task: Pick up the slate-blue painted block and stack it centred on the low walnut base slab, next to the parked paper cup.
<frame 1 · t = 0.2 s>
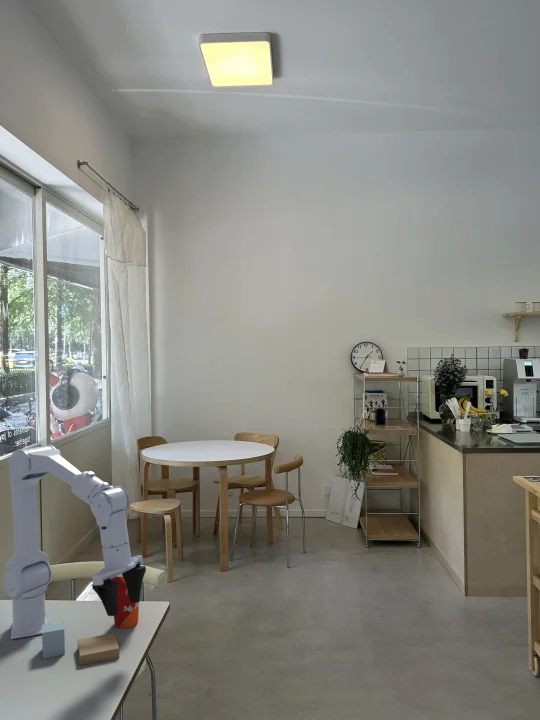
hand: (124, 608, 126), 11 cm above the table, tool pointing down, fingers open, 7 cm apart
paper cup: (126, 623, 143), on the table
base: (98, 653, 128), on the table
block: (53, 651, 130), on the table
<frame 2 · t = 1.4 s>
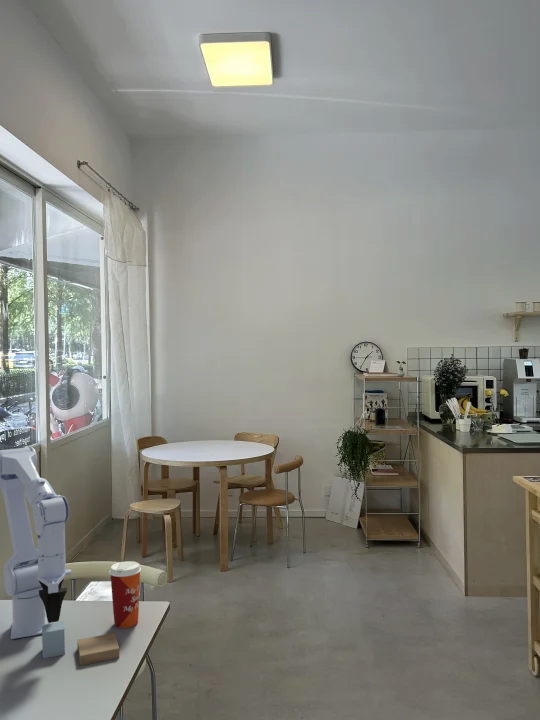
hand: (52, 614, 130), 8 cm above the table, tool pointing down, fingers open, 7 cm apart
nothing on the table moved.
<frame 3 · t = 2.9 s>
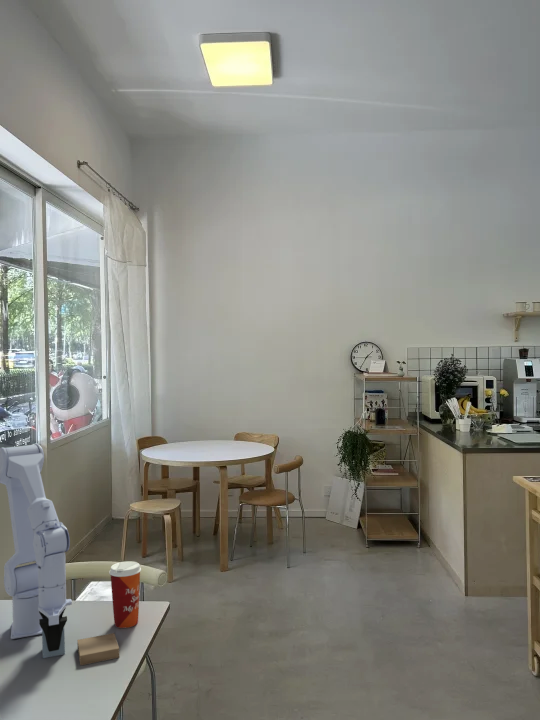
hand: (53, 645, 130), 1 cm above the table, tool pointing down, fingers closed on block, 4 cm apart
block: (53, 651, 130), on the table, touching gripper
everything else where it was.
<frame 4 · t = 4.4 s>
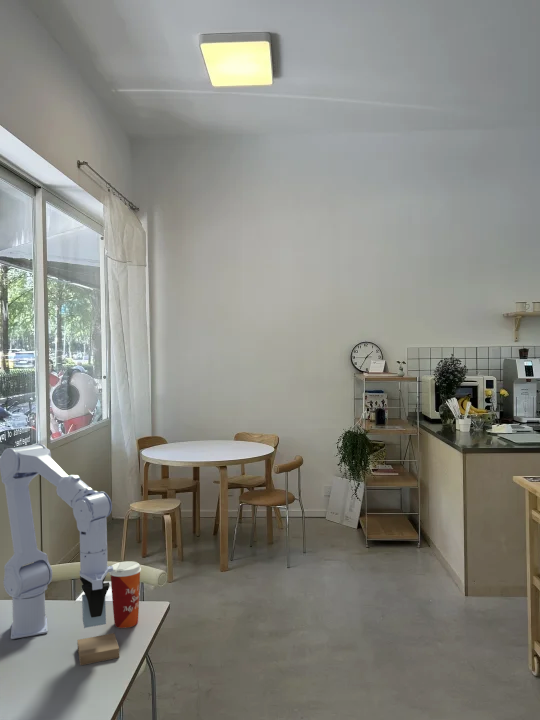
hand: (95, 611, 128), 9 cm above the table, tool pointing down, fingers closed on block, 4 cm apart
block: (94, 621, 128), point 7 cm above the table, touching gripper
everything else where it was.
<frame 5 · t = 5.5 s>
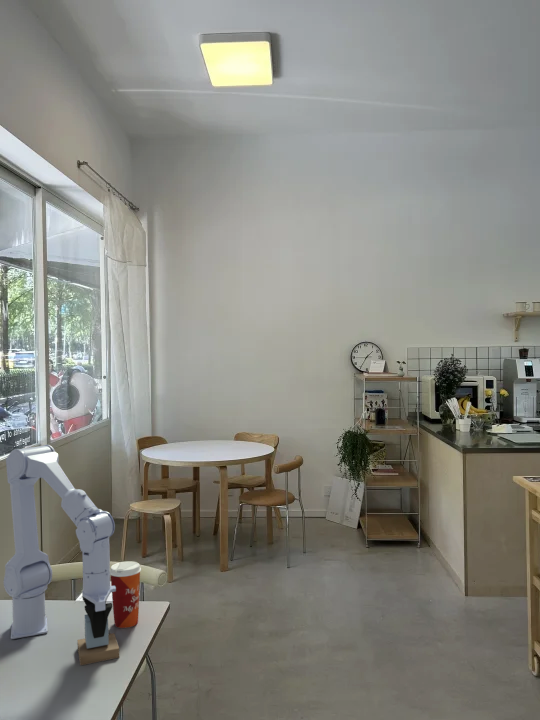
hand: (97, 632, 128), 5 cm above the table, tool pointing down, fingers closed on block, 4 cm apart
block: (96, 642, 128), point 2 cm above the table, touching gripper
everything else where it was.
when the fingers open (5 cm above the table, at t = 6.1 s): block stays where it is, resting on base.
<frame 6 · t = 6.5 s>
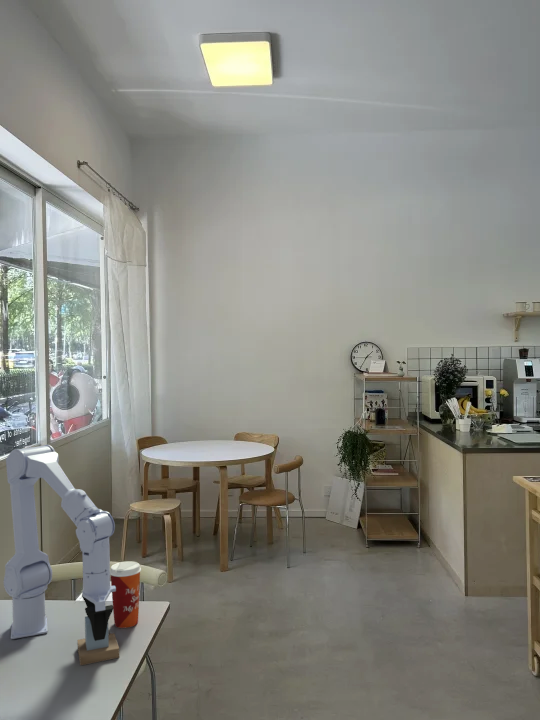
hand: (97, 632, 128), 5 cm above the table, tool pointing down, fingers open, 7 cm apart
block: (96, 644, 128), point 2 cm above the table, touching base
everything else where it was.
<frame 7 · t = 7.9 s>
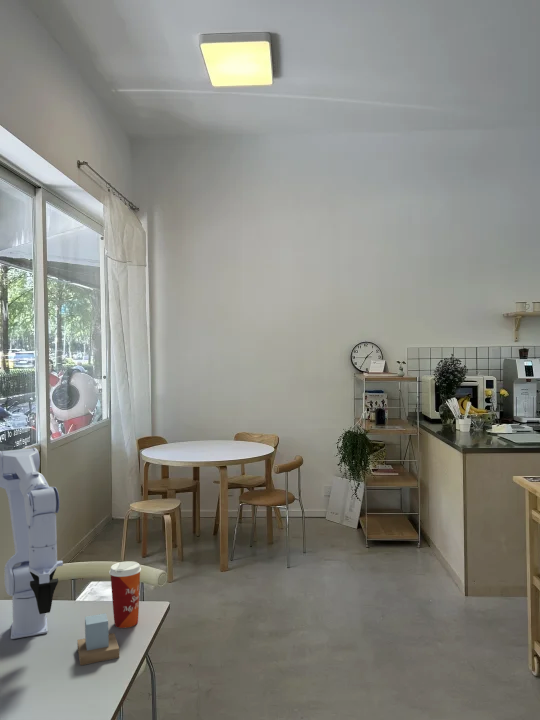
hand: (44, 606, 129), 10 cm above the table, tool pointing down, fingers open, 7 cm apart
nothing on the table moved.
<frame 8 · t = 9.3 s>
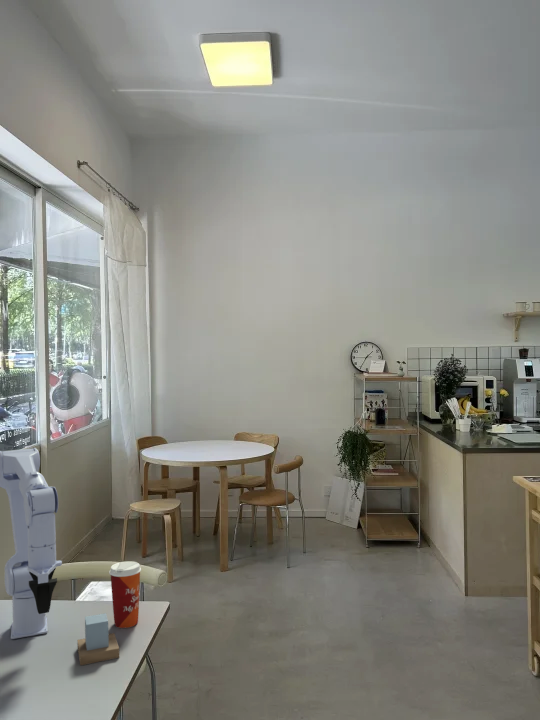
hand: (43, 606, 129), 10 cm above the table, tool pointing down, fingers open, 7 cm apart
nothing on the table moved.
at the end: block 0.2 cm off-centre on the base, point 2.0 cm above the base's base; block tilted 0°; the gripper is holding nothing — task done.
